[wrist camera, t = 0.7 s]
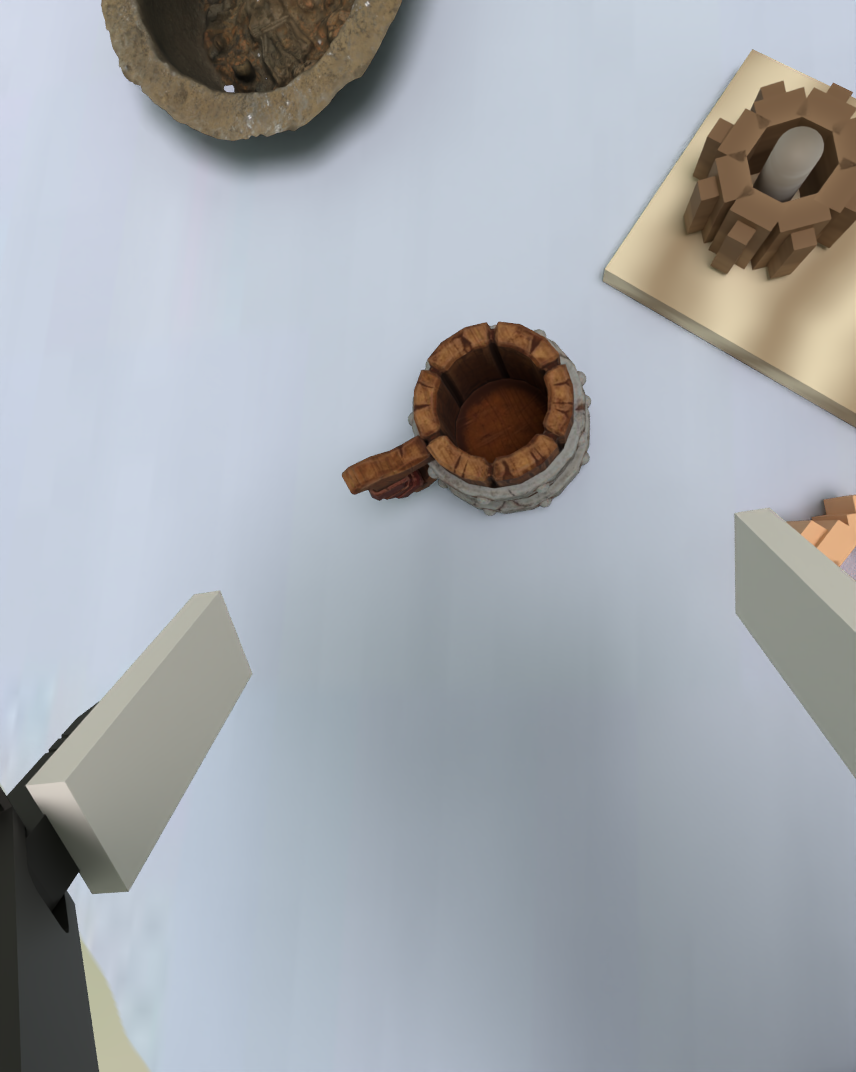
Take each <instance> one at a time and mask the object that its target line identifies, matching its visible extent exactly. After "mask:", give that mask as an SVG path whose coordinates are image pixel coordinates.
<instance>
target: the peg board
mask: <svg viewBox="0 0 856 1072" xmlns="http://www.w3.org/2000/svg"><path fill="white" fill-rule="evenodd" d="M852 93H853V92H851V91H849V90H847V89H845V88H843V87H841V86H839V85H837V84H835V83H833V84H832V85H831V87H830V86H828V85H826V84H824V83H822V82H820V81H818V80H816V79H814V78H812V77H809V76H807V75H805V74H803V73H801V72H799V71H797V70H795V69H793V68H791V67H789V66H786V65H784V64H782V63H780V62H778V61H776V60H774V59H772V58H770V57H768V56H766V55H763V54H761V53H759V52H757V51H755V50H753V49H752V51H751V52H750V54H749V55H748V57H747V58H746V60H745V61H744V63H743V64H742V66H741V67H740V69H739V70H738V72H737V73H736V75H735V76H734V78H733V79H732V81H731V82H730V84H729V85H728V87H727V88H726V89H725V91H724V92H723V94H722V95H721V97H720V98H719V100H718V101H717V103H716V104H715V106H714V107H713V109H712V110H711V112H710V113H709V115H708V116H707V118H706V119H705V121H704V122H703V124H702V125H701V127H700V128H699V130H698V131H697V133H696V134H695V136H694V137H693V139H692V140H691V142H690V143H689V145H688V146H687V148H686V149H685V151H684V152H683V154H682V155H681V157H680V158H679V160H678V161H677V162H676V164H675V165H674V167H673V168H672V170H671V171H670V173H669V174H668V176H667V177H666V179H665V180H664V182H663V183H662V185H661V186H660V188H659V189H658V191H657V192H656V194H655V195H654V197H653V198H652V200H651V201H650V203H649V204H648V206H647V207H646V209H645V210H644V212H643V213H642V215H641V216H640V218H639V219H638V221H637V222H636V224H635V225H634V227H633V228H632V230H631V231H630V233H629V234H628V235H627V237H626V238H625V240H624V241H623V243H622V244H621V246H620V247H619V249H618V250H617V252H616V253H615V255H614V256H613V258H612V259H611V261H610V262H609V264H608V265H607V267H606V268H605V271H604V277H603V282H605V283H607V284H608V285H610V286H612V287H614V288H615V289H617V290H619V291H620V292H622V293H624V294H626V295H627V296H629V297H631V298H633V299H634V300H636V301H638V302H639V303H641V304H643V305H645V306H646V307H648V308H650V309H652V310H653V311H655V312H657V313H658V314H660V315H662V316H664V317H665V318H667V319H669V320H671V321H672V322H674V323H676V324H677V325H679V326H681V327H683V328H684V329H686V330H688V331H690V332H691V333H693V334H695V335H696V336H698V337H700V338H702V339H703V340H705V341H707V342H709V343H710V344H712V345H714V346H715V347H717V348H719V349H721V350H722V351H724V352H726V353H728V354H729V355H731V356H733V357H734V358H736V359H738V360H740V361H741V362H743V363H745V364H747V365H748V366H750V367H752V368H753V369H755V370H757V371H759V372H760V373H762V374H764V375H766V376H767V377H769V378H771V379H772V380H774V381H776V382H778V383H779V384H781V385H783V386H785V387H786V388H788V389H790V390H792V391H793V392H795V393H797V394H798V395H800V396H802V397H804V398H805V399H807V400H809V401H811V402H812V403H814V404H816V405H817V406H819V407H821V408H823V409H824V410H826V411H828V412H830V413H831V414H833V415H835V416H836V417H838V418H840V419H842V420H843V421H845V422H847V423H849V424H850V425H852V426H854V427H855V428H856V99H855V98H853V97H851V95H852Z"/></svg>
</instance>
